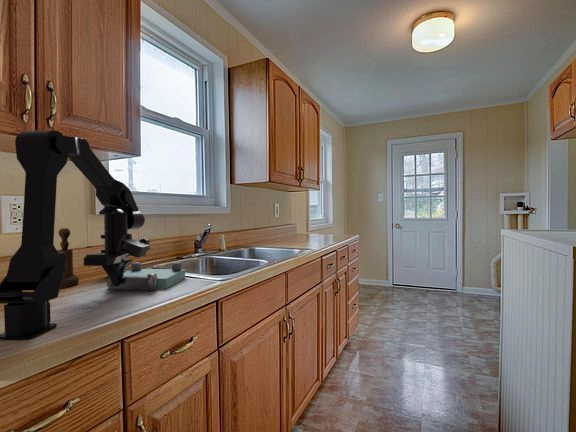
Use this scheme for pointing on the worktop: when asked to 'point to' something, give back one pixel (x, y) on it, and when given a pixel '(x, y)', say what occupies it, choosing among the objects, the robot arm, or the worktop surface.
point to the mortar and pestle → (67, 260)
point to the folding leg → (136, 282)
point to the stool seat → (158, 275)
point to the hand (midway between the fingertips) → (116, 286)
